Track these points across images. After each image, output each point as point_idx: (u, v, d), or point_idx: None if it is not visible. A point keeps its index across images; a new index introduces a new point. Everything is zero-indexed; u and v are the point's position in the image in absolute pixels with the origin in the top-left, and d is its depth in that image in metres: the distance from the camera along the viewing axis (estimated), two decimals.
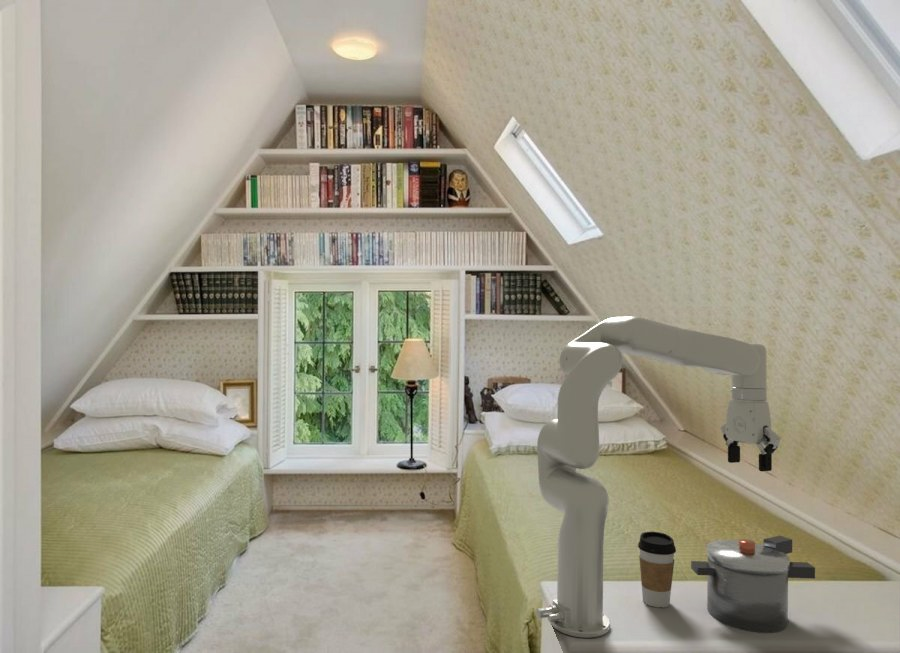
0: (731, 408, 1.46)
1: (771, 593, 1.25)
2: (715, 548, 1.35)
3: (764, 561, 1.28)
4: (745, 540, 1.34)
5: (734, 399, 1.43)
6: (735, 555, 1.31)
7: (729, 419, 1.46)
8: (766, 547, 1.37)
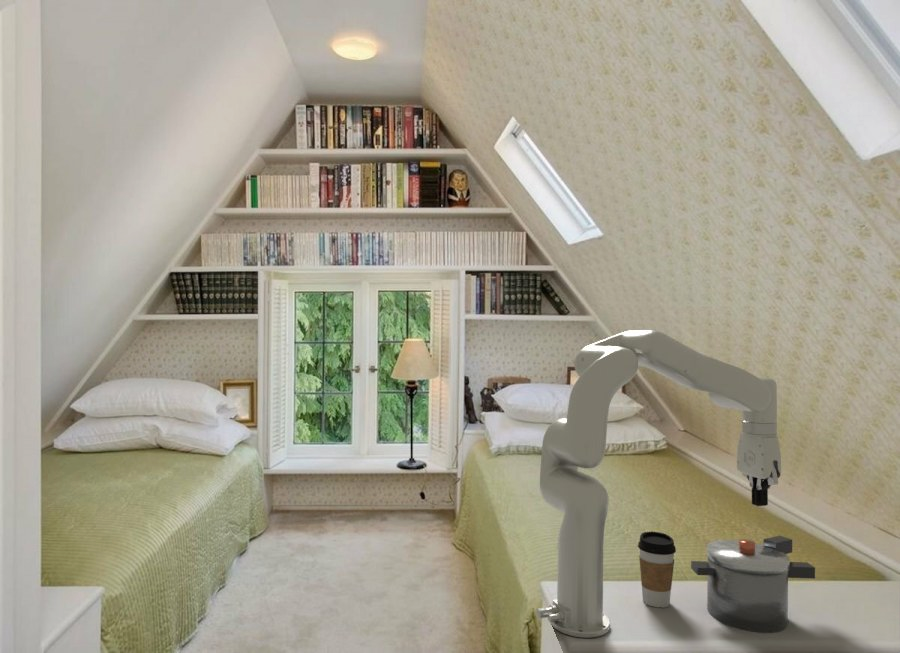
0: (742, 441, 1.47)
1: (771, 593, 1.25)
2: (715, 548, 1.35)
3: (764, 561, 1.28)
4: (745, 540, 1.34)
5: (744, 433, 1.45)
6: (735, 555, 1.31)
7: (740, 452, 1.47)
8: (766, 547, 1.37)
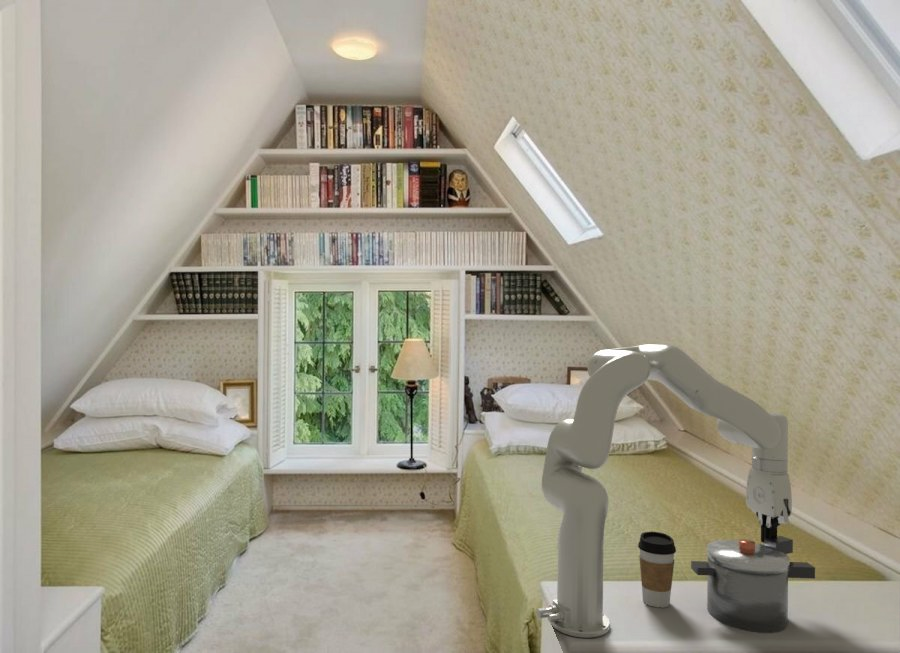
0: (751, 477, 1.44)
1: (771, 593, 1.25)
2: (715, 548, 1.35)
3: (764, 561, 1.28)
4: (745, 540, 1.34)
5: (754, 469, 1.42)
6: (735, 555, 1.31)
7: (749, 488, 1.45)
8: (766, 547, 1.37)
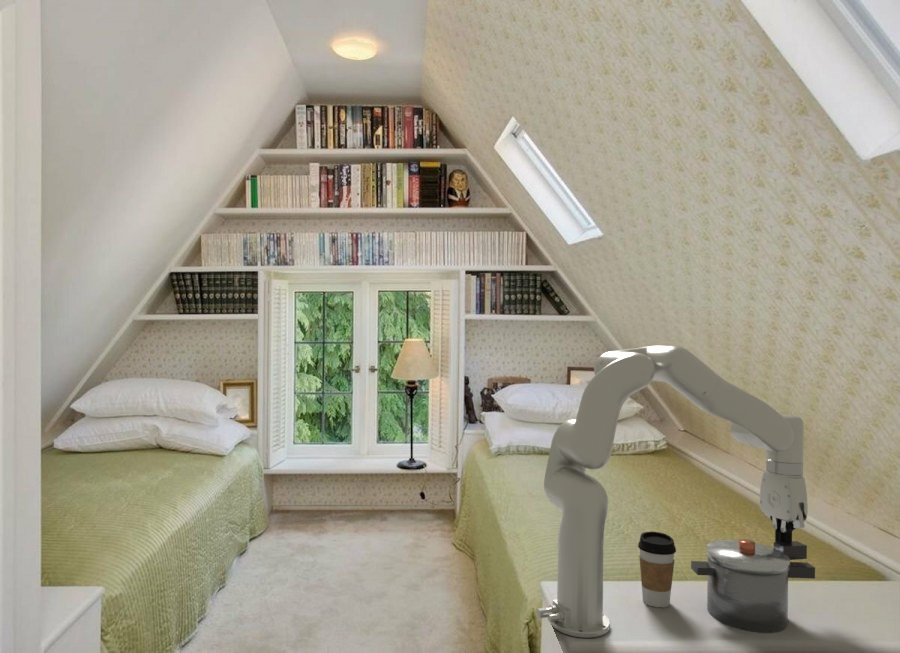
0: (765, 480, 1.41)
1: (771, 593, 1.25)
2: (715, 545, 1.37)
3: (757, 561, 1.28)
4: (746, 540, 1.34)
5: (769, 472, 1.39)
6: (730, 553, 1.32)
7: (763, 491, 1.42)
8: (774, 550, 1.35)
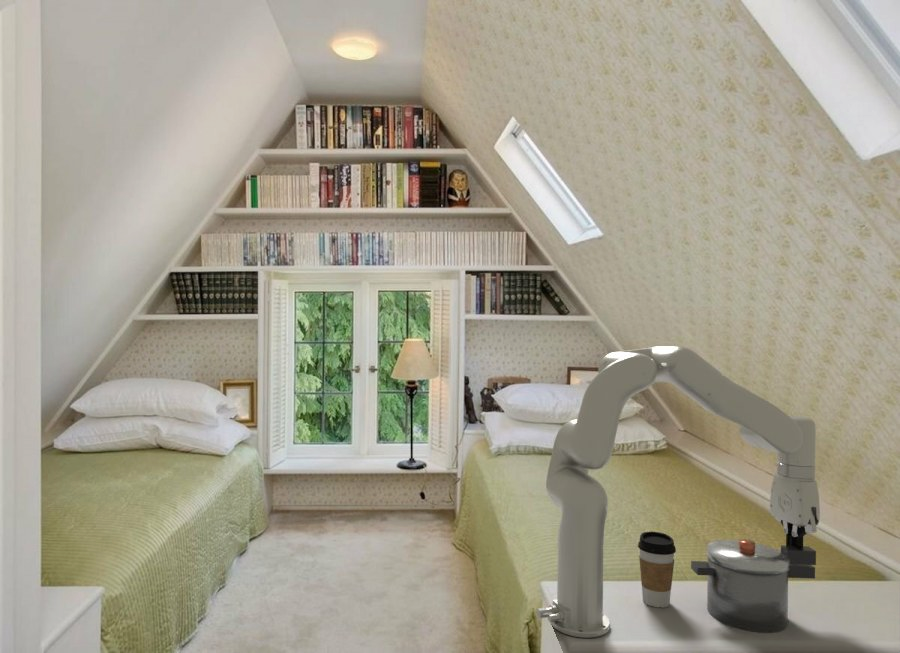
0: (776, 484, 1.38)
1: (771, 593, 1.25)
2: (718, 544, 1.38)
3: (750, 560, 1.28)
4: (747, 540, 1.34)
5: (780, 475, 1.36)
6: (727, 552, 1.33)
7: (774, 495, 1.39)
8: (779, 553, 1.33)
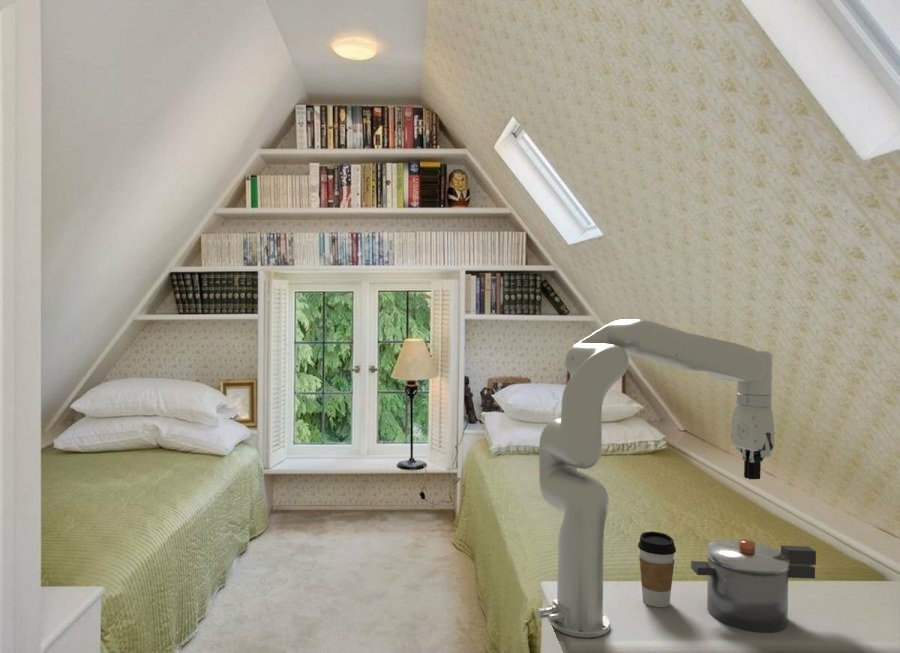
0: (736, 414, 1.46)
1: (771, 593, 1.25)
2: (718, 544, 1.38)
3: (750, 560, 1.28)
4: (747, 540, 1.34)
5: (738, 405, 1.44)
6: (727, 552, 1.33)
7: (734, 425, 1.47)
8: (779, 553, 1.33)
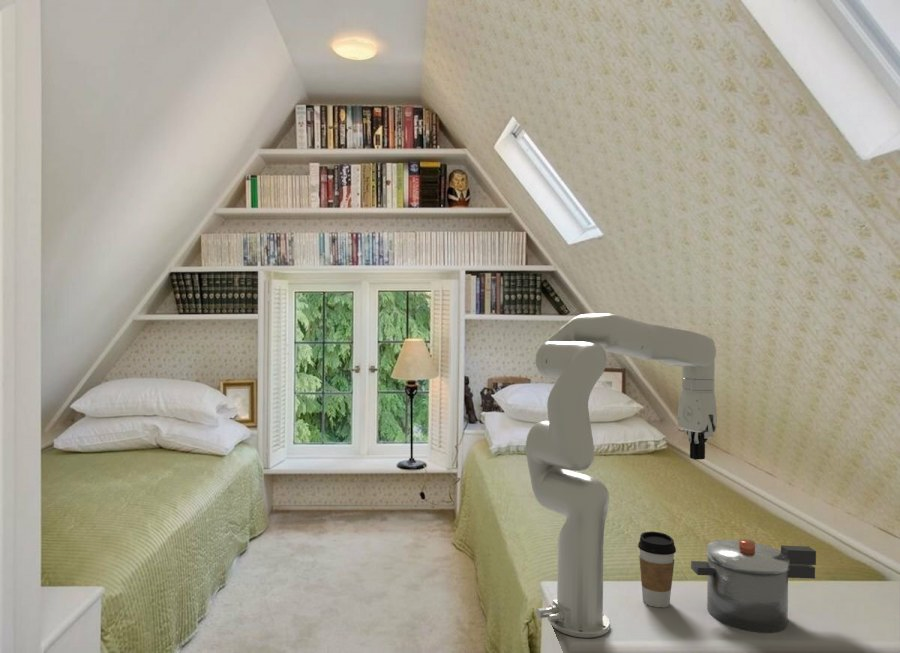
0: (682, 398, 1.53)
1: (771, 593, 1.25)
2: (718, 544, 1.38)
3: (750, 560, 1.28)
4: (747, 540, 1.34)
5: (683, 389, 1.51)
6: (727, 552, 1.33)
7: (680, 409, 1.54)
8: (779, 553, 1.33)
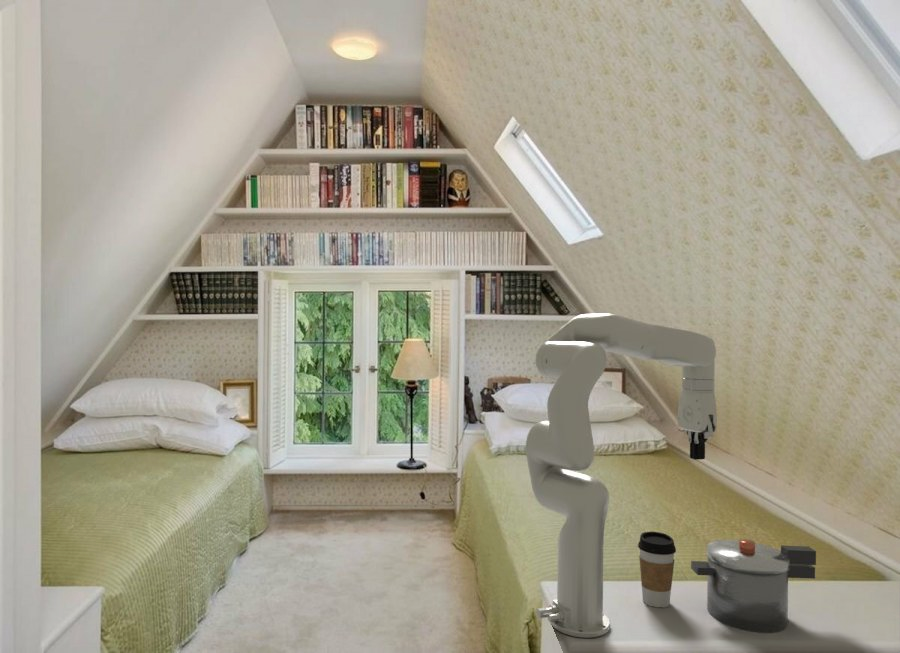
0: (682, 398, 1.53)
1: (771, 593, 1.25)
2: (718, 544, 1.38)
3: (750, 560, 1.28)
4: (747, 540, 1.34)
5: (683, 389, 1.51)
6: (727, 552, 1.33)
7: (680, 409, 1.54)
8: (779, 553, 1.33)
